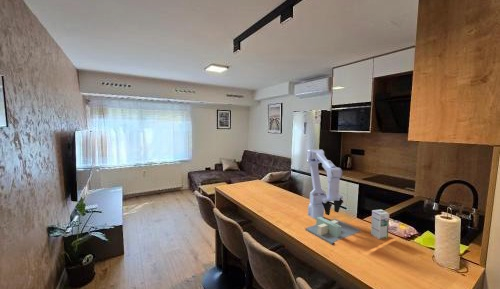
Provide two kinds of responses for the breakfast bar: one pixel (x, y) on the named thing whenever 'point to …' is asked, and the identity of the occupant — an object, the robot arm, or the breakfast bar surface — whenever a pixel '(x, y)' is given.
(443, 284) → the breakfast bar surface
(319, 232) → the slotted base
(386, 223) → the syrup box
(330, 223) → the cross plate
